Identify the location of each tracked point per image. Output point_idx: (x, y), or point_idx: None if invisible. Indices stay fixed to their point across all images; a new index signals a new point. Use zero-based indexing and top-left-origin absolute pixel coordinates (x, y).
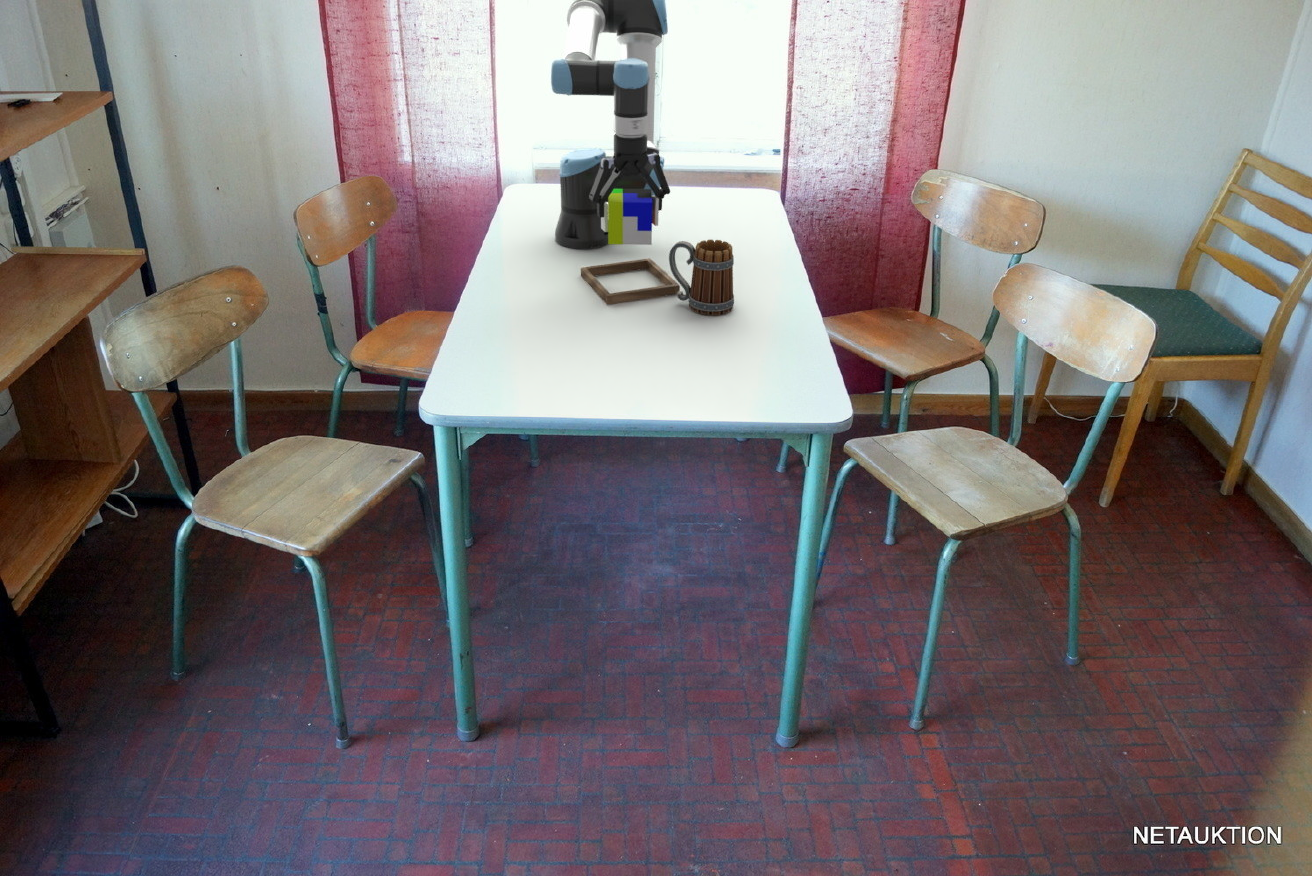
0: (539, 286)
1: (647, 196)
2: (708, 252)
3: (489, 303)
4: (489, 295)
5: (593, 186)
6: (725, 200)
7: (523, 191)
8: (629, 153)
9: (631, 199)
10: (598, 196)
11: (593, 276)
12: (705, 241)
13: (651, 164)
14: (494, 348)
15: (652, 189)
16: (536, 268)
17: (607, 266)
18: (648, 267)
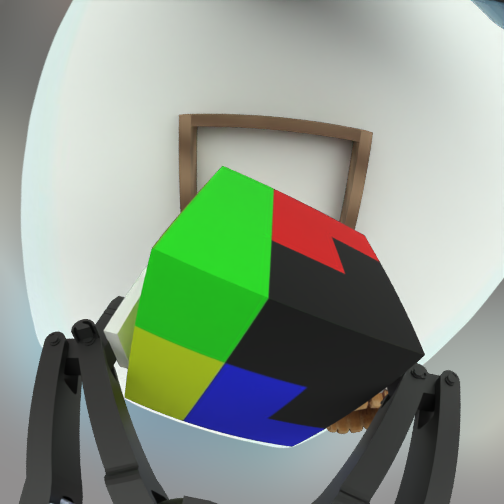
0: (99, 142)
1: (322, 418)
2: (329, 430)
3: (37, 188)
4: (37, 159)
5: (38, 386)
6: None
7: None
8: None
9: (230, 420)
10: (79, 386)
11: (189, 176)
12: (365, 407)
13: None
14: (54, 301)
15: (380, 413)
16: (119, 50)
17: (247, 127)
18: (354, 147)
